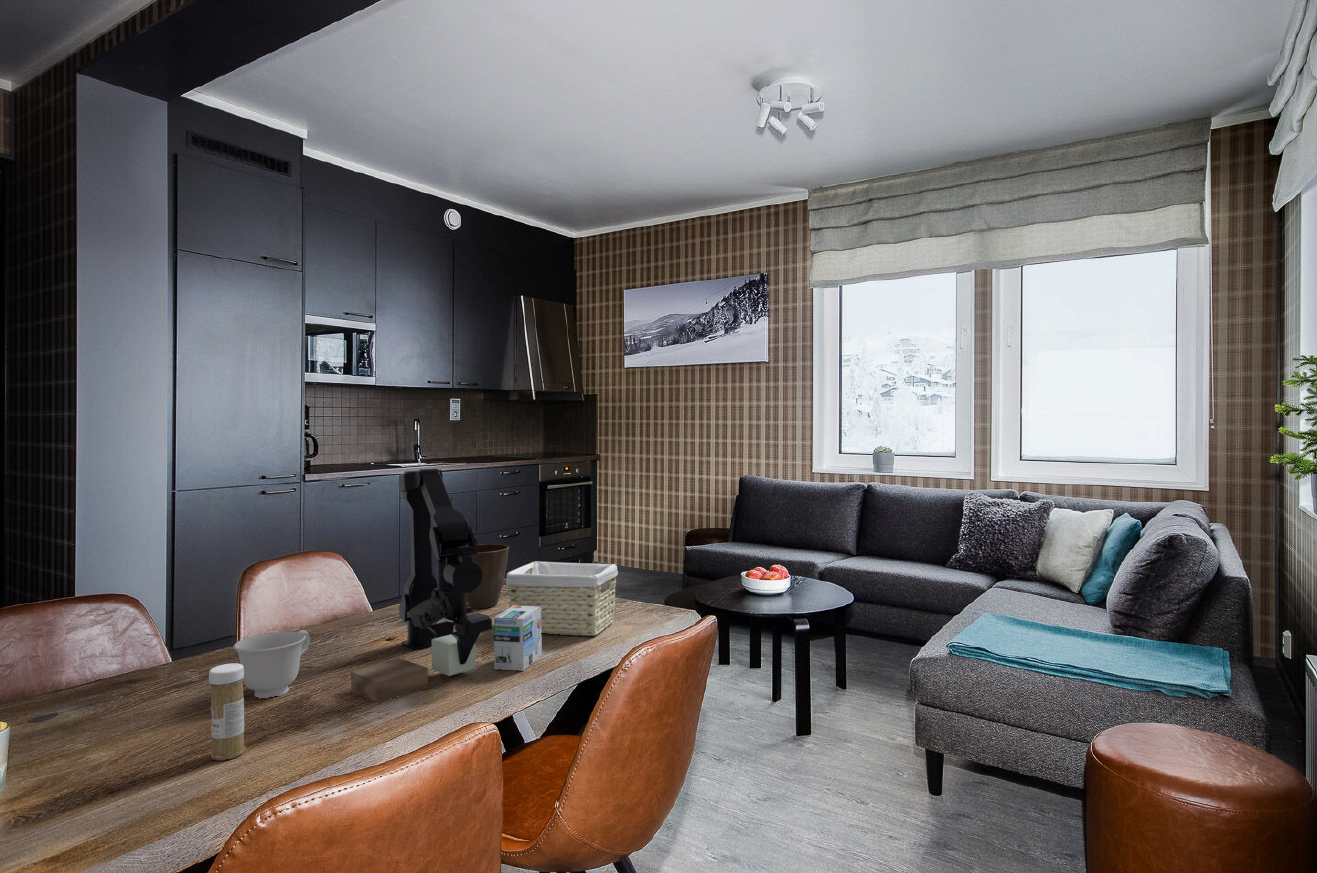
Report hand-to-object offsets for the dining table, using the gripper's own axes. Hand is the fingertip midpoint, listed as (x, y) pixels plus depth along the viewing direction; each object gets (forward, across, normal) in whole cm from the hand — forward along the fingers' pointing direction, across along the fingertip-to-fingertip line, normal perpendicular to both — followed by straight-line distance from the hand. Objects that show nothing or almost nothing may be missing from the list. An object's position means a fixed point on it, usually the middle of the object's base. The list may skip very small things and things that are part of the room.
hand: (453, 660), depth 145 cm
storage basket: (+3, -9, +37) cm, 38 cm away
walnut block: (+3, -3, -12) cm, 13 cm away
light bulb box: (+3, +4, +13) cm, 14 cm away
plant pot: (+3, -43, +37) cm, 57 cm away
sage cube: (+2, 0, 0) cm, 2 cm away
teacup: (+3, -19, -26) cm, 32 cm away
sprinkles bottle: (+3, +4, -42) cm, 42 cm away
